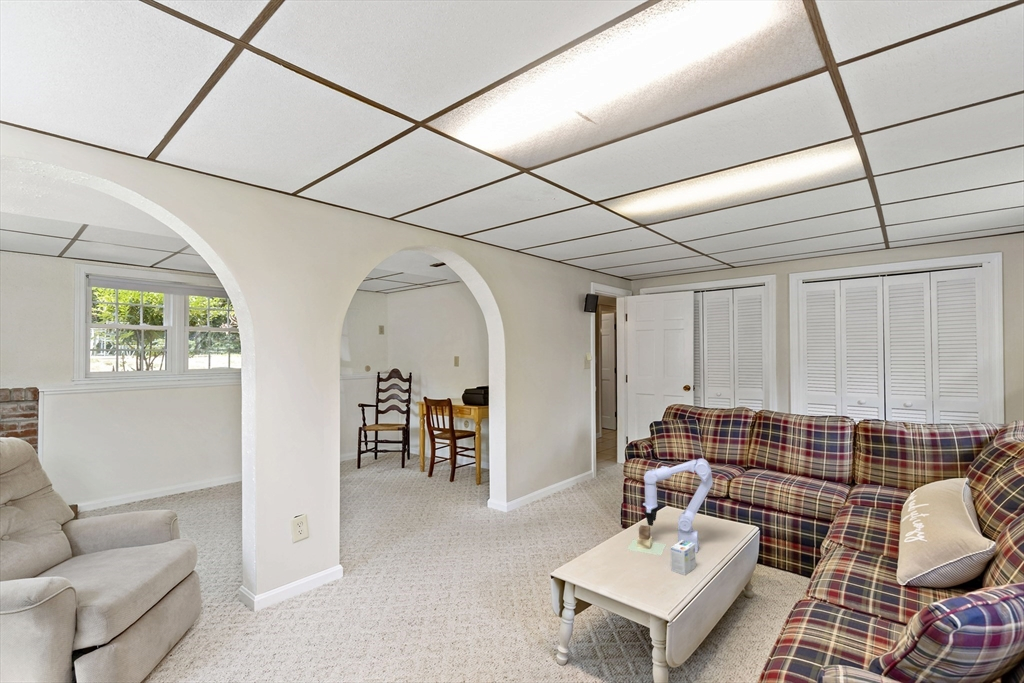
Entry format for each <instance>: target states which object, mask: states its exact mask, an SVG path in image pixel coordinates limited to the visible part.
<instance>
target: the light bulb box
mask: <svg viewBox="0 0 1024 683" xmlns="http://www.w3.org/2000/svg"><path fill="white" fill-rule="evenodd" d="M696 562H697V561H696V552H695V543H691V542H688V541H684V540H680V541H679V542H678V541H677V542H676V543H675V544H673V545H672V546H670V567H671V569H670V570H671V572H672V573H673V572H674V573H677V574H679V575H683V576H686V575H688V574H689V573H691V572H692V571H693V570H694V569H696V566H697V564H696Z"/></svg>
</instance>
